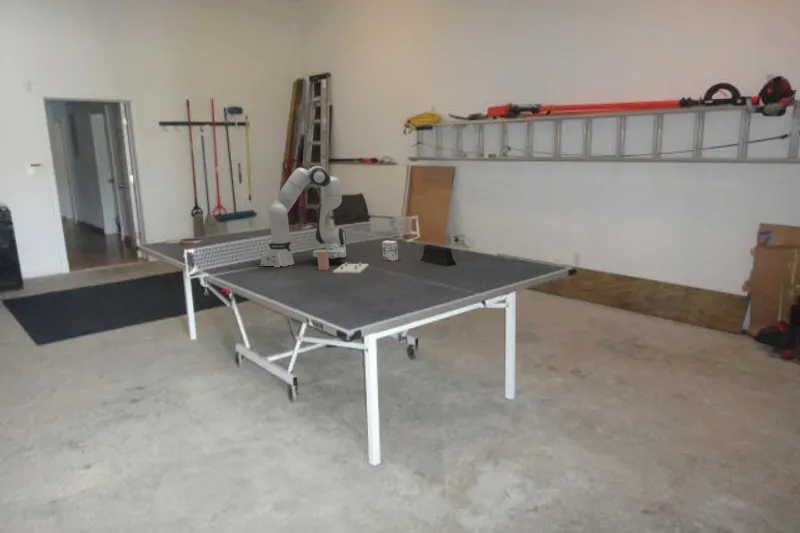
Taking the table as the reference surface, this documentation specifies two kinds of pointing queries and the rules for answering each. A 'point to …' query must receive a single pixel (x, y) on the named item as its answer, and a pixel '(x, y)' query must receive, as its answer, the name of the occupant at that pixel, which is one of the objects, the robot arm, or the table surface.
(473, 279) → the table surface
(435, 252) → the barrier
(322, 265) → the terracotta block
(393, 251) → the ink box
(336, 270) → the mounting plate
